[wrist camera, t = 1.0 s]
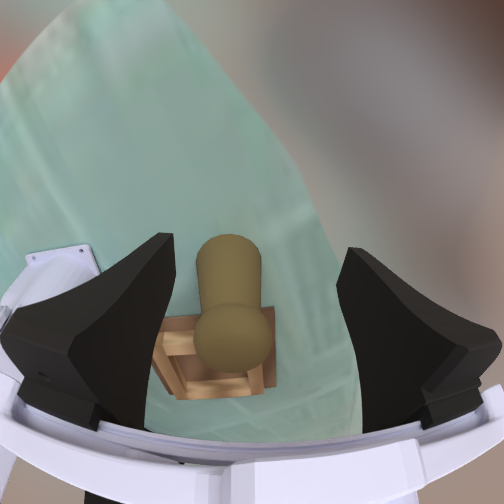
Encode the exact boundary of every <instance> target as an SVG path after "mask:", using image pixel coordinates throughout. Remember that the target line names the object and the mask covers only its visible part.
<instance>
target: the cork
mask: <svg viewBox="0 0 504 504" xmlns="http://www.w3.org/2000/svg"><path fill="white" fill-rule="evenodd" d="M196 266H197V276H198V285H199V294H200V303H201V311H202V316H201V317H200V318H199V320H198V321H197V324H196V326H195V330H194V336H193V343H194V347H195V350H196V354H197V355H198V357H199V358H200V359H201V361H202V362H203V363H204V364H205V365H206V366H208V367H209V368H211V369H213V370H216V371H219V372H223V373H242V372H245V371H249V370H252V369H254V368H256V367H258V366H259V365H260V364H262V363H263V362H264V361H265V359H266V358H267V356H268V354H269V352H270V350H271V347H272V331H271V328H270V326H269V324H268V322H267V320H266V318H265V316H264V315H263V314H262V313H261V255H260V253H259V250H258V248H257V247H256V246H255V245H254V244H253V243H252V242H251V241H250V240H248V239H246V238H245V237H243V236H239V235H234V234H225V235H219V236H216V237H214V238H211V239H210V240H208V241H207V242H206V243H205V244H203V246H202V247H201V249H200V250H199V252H198V255H197V259H196Z"/></svg>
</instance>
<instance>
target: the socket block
mask: <svg viewBox="0 0 504 504" xmlns="http://www.w3.org/2000/svg"><path fill="white" fill-rule="evenodd" d="M261 313H262V314H263V315H264V316H265V318H266V320H267V322H268V324H269V326H270V328H271V331H272V347H271V350H270V352H269V354H268V356H267V358H266V359H265V361H264V362H263V363H262V364H260V365H259V366H258V367H256V368H254V369H252V370H249V371H245V372H242V373H223V372H219V371H216V370H213V369H211V368H209V367H208V366H206V365H205V364H204V363H203V362H202V361H201V359H200V358H199V357H198V355H197V354H196V350H195V347H194V343H193V336H194V330H195V326H196V324H197V321H198V320H199V318H200V317H201V316H202V314H201V315H189V316H176V317H164V318H163V321H162V324H161V327H160V330H159V333H158V336H157V339H156V343H155V347H154V352H153V357H152V362H151V364H152V366H153V368H154V370H155V371H156V373H157V375H158V376H159V378H160V380H161V382H162V383H163V385H164V387H165V388H166V390H167V391H168V393H169V395H175V397H176V399H177V400H189V399H213V398H227V397H239V396H249V395H258V394H264V388H271V387H276V348H275V312H274V307H266V308H261Z"/></svg>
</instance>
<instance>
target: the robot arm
mask: <svg viewBox="0 0 504 504" xmlns="http://www.w3.org/2000/svg"><path fill="white" fill-rule="evenodd" d="M81 249H82V250H83V251H84V252H83V251H81ZM34 257H35V258H36V259H35V258H34ZM26 261H27V263H28V265H27V267H26V268H25V269H24V270H23V271H22V272H21V274H20V275H19V276H18V277H17V279H16V280H15V281H14V282H13V284H12V285H11V286H10V287H9V289H8V290H7V291H6V293H5V294H4V296H3V298H2V300H1V303H0V503H1V500H2V497H3V494H4V491H5V488H6V485H7V482H8V480H9V477H10V474H11V472H12V469H13V466H14V464H15V461H16V459H17V456H19V457H20V458H22V459H24V460H25V461H27V462H29V463H30V464H33V465H34V466H36V467H37V468H39V469H41V470H43V471H45V472H47V473H49V474H51V475H53V476H55V477H57V478H59V479H61V480H63V481H65V482H67V483H69V484H72V485H74V486H76V487H79V488H81V489H84V490H86V491H89V492H91V493H94V494H97V495H99V496H102V497H105V498H108V499H111V500H114V501H117V502H120V503H124V504H419V501H418V495H417V490H419V489H421V488H423V487H425V485H426V484H428V483H430V482H432V481H434V480H437V479H439V478H441V477H443V476H445V475H446V474H448V473H450V472H452V471H454V470H456V469H458V468H460V467H462V466H463V465H465V464H467V463H468V462H470V461H472V460H473V459H475V458H477V457H478V456H480V455H482V454H483V453H485V452H486V451H488V450H489V449H491V448H492V447H494V446H495V445H496V444H498V443H499V442H501V441H502V440H503V439H504V392H503V389H502V387H501V385H500V384H497V385H495V386H492V387H490V388H488V389H486V390H484V391H483V392H481V393H480V392H479V390H478V387H480V386H481V381H480V379H479V377H480V376H481V375H482V374H483V373H484V372H485V370H487V368H488V367H489V366H490V365H491V364H492V363H493V362H494V360H495V359H496V358H497V356H498V355H499V353H500V351H501V348H502V342H501V340H500V339H499V337H498V335H497V334H496V333H495V331H494V330H492V329H489V328H487V327H484V326H481V325H479V324H476V323H473V322H471V321H469V320H467V319H464V318H462V317H460V316H458V315H456V314H454V313H452V312H450V311H448V310H446V309H445V308H443V307H441V306H439V305H438V304H436V303H434V302H433V301H431V300H430V299H428V298H427V297H425V296H424V295H422V294H421V293H419V292H418V291H416V290H415V289H414V288H412V287H411V286H410V285H408V284H407V283H406V282H404V281H403V280H402V279H401V278H399V277H398V276H397V275H396V274H394V273H393V272H392V271H391V270H389V269H388V268H387V267H386V266H385V265H383V264H382V263H381V262H380V261H378V260H377V259H376V258H375V257H373V256H372V255H371V254H369V253H368V252H367V251H365V250H363V249H362V248H353V247H349V248H348V251H347V254H346V257H345V260H344V263H343V266H342V269H341V272H340V275H339V278H338V281H337V284H336V287H337V293H338V298H339V303H340V307H341V310H342V313H343V316H344V319H345V322H346V325H347V328H348V331H349V334H350V337H351V340H352V344H353V347H354V351H355V354H356V360H357V365H358V371H359V379H360V387H361V397H362V420H363V427H362V434H359V435H353V436H347V437H340V438H332V439H324V440H314V441H301V442H282V443H240V442H221V441H209V440H198V439H190V438H182V437H175V436H169V435H163V434H157V433H152V432H147V431H144V417H145V405H146V396H147V387H148V380H149V374H150V368H151V362H152V357H153V352H154V347H155V343H156V339H157V336H158V333H159V330H160V327H161V324H162V321H163V318H164V316H165V313H166V310H167V307H168V304H169V301H170V298H171V296H172V291H173V287H174V282H175V278H176V266H175V253H174V237H173V233H157V234H156V235H154V236H153V237H152V238H150V239H149V240H148V241H146V242H145V243H144V244H142V245H141V246H140V247H138V248H137V249H136V250H134V251H133V252H132V253H131V254H129V255H128V256H126V257H125V258H123V259H122V260H121V261H119V262H118V263H116V264H115V265H113V266H112V267H111V268H109V269H108V270H106V271H104V272H103V273H100V271H99V268H98V266H97V263H96V261H95V258H94V256H93V253H92V250H91V248H90V246H89V245H87V244H84V245H78V246H72V247H66V248H60V249H54V250H49V251H43V252H37V253H32V254H28V255H27V256H26ZM178 462H183V463H191V464H199V465H210V466H198V465H182V464H179V463H178Z"/></svg>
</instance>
